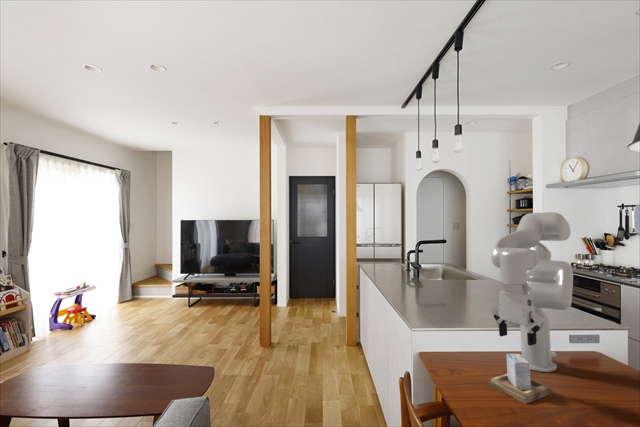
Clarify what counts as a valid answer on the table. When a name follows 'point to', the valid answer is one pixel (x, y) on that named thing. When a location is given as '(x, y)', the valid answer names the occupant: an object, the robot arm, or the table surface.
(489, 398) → the table surface
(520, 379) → the medicine box
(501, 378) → the square wooden tray
